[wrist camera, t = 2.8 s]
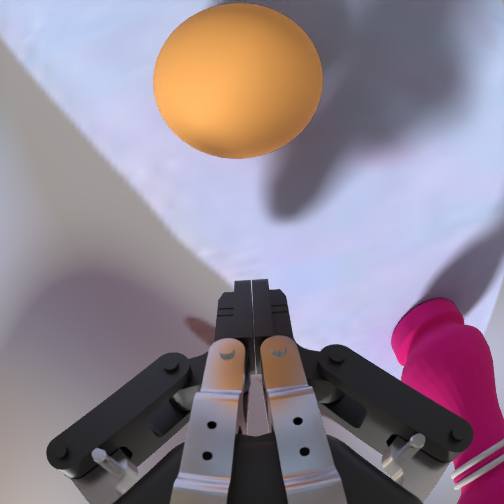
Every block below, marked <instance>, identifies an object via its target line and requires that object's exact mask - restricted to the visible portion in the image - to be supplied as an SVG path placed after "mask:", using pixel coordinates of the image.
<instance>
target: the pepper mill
mask: <svg viewBox="0 0 504 504" xmlns="http://www.w3.org/2000/svg"><path fill="white" fill-rule="evenodd" d="M391 345H392V348H393V351H394V353H395V355H396V357H397V360H398V362H399V363H400V364H401V365H402V366H404V368H403V372H402V377H401V381H402V382H403V383H405V384H407V385H408V386H410V387H411V388H413V389H415V390H416V391H418V392H420V393H421V394H423V395H425V396H426V397H428V398H430V399H431V400H433V401H435V402H436V403H438V404H440V405H441V406H443V407H445V408H446V409H448V410H450V411H451V412H453V413H455V414H456V415H458V416H460V417H461V418H463V419H465V420H466V421H468V422H469V423H470V425H471V426H472V428H473V432H474V437H473V441H472V443H471V445H470V446H469V447H468V448H467V449H466V450H465V451H464V452H463V453H461V454H460V455H459V456H458V457H457V458H455V459H454V460H453V462H454V466H455V471H454V472H453V473H452V474H451V478H452V479H454V483H456V484H455V486H454V489H456V490H458V489H460V488H461V496H460V499H459V501H458V503H457V504H504V418H503V416H502V413H501V410H500V407H499V404H498V399H497V394H496V387H495V378H494V367H493V360H492V356H491V352H490V348H489V346H488V344H487V342H486V340H485V338H484V336H483V334H482V333H481V332H480V331H479V330H478V329H477V328H475V327H473V326H469V325H464V318H463V316H462V315H461V313H460V312H459V310H458V309H457V308H456V306H455V305H454V304H453V303H452V302H451V301H450V300H448V299H442V298H440V299H433V300H430V301H427V302H424V303H422V304H421V305H419V306H417V307H415V308H414V309H413V310H411V311H410V312H409V313H408V314H407V315H406V316H405V317H404V318H403V319H402V320H401V321H400V322H399V323H398V325H397V327H396V328H395V330H394V332H393V335H392V339H391Z"/></svg>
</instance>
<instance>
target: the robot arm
mask: <svg viewBox="0 0 504 504" xmlns="http://www.w3.org/2000/svg"><path fill="white" fill-rule="evenodd" d="M252 293H253V305H252ZM253 318H254V324H253ZM254 340H255V350H254ZM255 353H256V366H257V374H262V387H263V396H264V402H265V409H266V415H267V422H268V429H269V433H268V434H265V435H261V436H258V437H254V436H248V435H247V423H248V410H249V395H250V384H251V381H250V380H251V377H250V374H255ZM319 409H320V410H321V411H323V412H324V413H325V414H327V415H328V416H329V417H330V418H332V419H333V420H334V421H336V422H337V423H338V424H340V425H341V426H343V427H344V428H345V429H347V430H348V431H349V432H351V433H352V434H353V435H355V436H356V437H358V438H359V439H360V440H362V441H363V442H365V443H366V444H368V445H369V446H370V447H372V448H374V449H375V450H376V451H378V452H379V453H381V454H382V455H383V456H382V461H381V462H382V467H383V469H384V470H385V471H386V472H387V473H388V474H389V475H390V477H391V478H392V479H391V478H389V477H388V476H386V475H385V474H384V473H383V472H381V471H380V470H378V469H377V468H376V467H375V466H373V465H372V464H371V463H369V462H368V461H367V460H365V459H364V458H363V457H361V456H360V455H359V454H357V453H356V452H355V451H354V450H352V449H351V448H350V447H349V446H347V445H346V444H345V443H343V442H342V441H340V440H338V439H337V438H335V437H332V436H330V435H327V434H326V433H325V429H324V425H323V422H322V418H321V414H320V411H319ZM188 422H189V425H188V429H187V435H186V440H185V442H183V443H182V444H180V445H178V446H176V447H175V448H174V449H172V450H171V451H170V452H169V453H168V454H167V455H166V456H165V457H164V458H163V459H162V460H160V461H159V462H158V463H157V464H156V465H155V466H154V467H153V468H152V469H151V470H150V471H149V472H148V473H147V474H145V475H144V476H143V477H142V478H141V479H140V480H139V481H138V482H137V483H135V482H136V481H137V478H138V469H137V467H138V466H139V465H140V464H141V463H142V462H143V461H145V460H146V459H147V458H148V457H149V456H150V455H152V454H153V453H154V452H155V451H156V450H157V449H159V448H160V447H161V446H162V445H163V444H164V443H165V442H167V441H168V440H169V439H170V438H171V437H172V436H173V435H174V434H176V433H177V432H178V431H179V430H180V429H181V428H182V427H183V426H184V425H185V424H186V423H188ZM473 437H474V432H473V428H472V426H471V425H470V423H469V422H468V421H466V420H465V419H463V418H461V417H460V416H458V415H456V414H455V413H453V412H451V411H450V410H448V409H446V408H445V407H443V406H441V405H440V404H438V403H436V402H435V401H433V400H431V399H430V398H428V397H426V396H425V395H423V394H421V393H420V392H418V391H416V390H415V389H413V388H411V387H410V386H408V385H407V384H405V383H403V382H402V381H400V380H398V379H397V378H395V377H394V376H392V375H390V374H389V373H387V372H386V371H384V370H382V369H381V368H379V367H378V366H376V365H374V364H373V363H371V362H370V361H368V360H367V359H365V358H363V357H362V356H360V355H359V354H357V353H356V352H354V351H352V350H351V349H349V348H348V347H346V346H343V345H338V344H333V345H329V346H326V347H325V348H323V349H322V350H321V351H320V352H319V351H313V350H308V349H305V348H303V347H301V346H299V345H298V344H297V343H296V342H295V340H294V338H293V333H292V327H291V321H290V316H289V310H288V305H287V299H286V296H285V294H284V293H283V292H282V291H281V290H280V289H276V290H269V285H268V279H259V280H252V292H251V280H243V281H235V285H234V292H225V293H223V294H222V296H221V297H220V299H219V300H218V310H217V319H216V330H215V340H214V343H213V344H212V345H211V347H210V348H209V351H208V352H207V353H205V354H203V355H201V356H198V357H194V358H191V359H187V357H186V356H184V355H183V354H180V353H167V354H164V355H163V356H161V357H159V358H158V359H157V360H156V361H154V362H153V363H152V364H151V365H149V366H148V367H147V368H146V369H144V370H143V371H142V372H141V373H139V374H138V375H137V376H136V377H134V378H133V379H132V380H130V381H129V382H128V383H126V384H125V385H124V386H123V387H121V388H120V389H119V390H118V391H116V392H115V393H114V394H112V395H111V396H110V397H108V398H107V399H106V400H104V401H103V402H102V403H101V404H99V405H98V406H97V407H95V408H94V409H93V410H91V411H90V412H89V413H87V414H86V415H85V416H83V417H82V418H81V419H80V420H78V421H77V422H76V423H74V424H73V425H72V426H70V427H69V428H68V429H66V430H65V431H64V432H62V433H61V434H60V435H58V436H57V437H55V438H54V439H53V440H52V441H51V442H50V443H49V445H48V447H47V451H46V454H47V459H48V461H49V463H50V464H51V465H52V466H53V467H54V468H56V469H57V470H59V471H60V472H62V473H63V474H64V475H65V476H66V477H68V478H69V479H71V480H72V481H73V482H74V484H75V485H76V487H77V488H78V489H79V491H80V492H81V493H82V494H83V496H84V497H85V498H86V500H87V501H88V502H89V503H90V504H423V502H424V501H425V499H426V498H427V497H428V495H429V494H430V492H431V491H432V490H433V488H434V486H435V485H436V484H437V482H438V481H439V479H440V478H441V476H442V474H443V473H444V471H445V470H446V468H447V466H448V465H449V463H450V462H451V461H453V460H454V459H455V458H457V457H458V456H459V455H460V454H461V453H463V452H464V451H465V450H466V449H467V448H468V447H469V446H470V445H471V443H472V441H473ZM134 483H135V484H134Z"/></svg>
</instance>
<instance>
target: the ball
mask: <svg viewBox="0 0 504 504" xmlns="http://www.w3.org/2000/svg"><path fill="white" fill-rule="evenodd" d="M153 86H154V94H155V100H156V103H157V106H158V109H159V111H160V113H161V115H162V117H163V119H164V120H165V122H166V123H167V125H168V126H169V128H170V129H171V130H172V131H173V132H174V133H175V134H176V135H177V136H178V137H179V138H180V139H181V140H183V141H184V142H185V143H187V144H188V145H190V146H191V147H193V148H195V149H197V150H199V151H201V152H204V153H207V154H210V155H213V156H217V157H222V158H231V159H243V158H251V157H256V156H261V155H264V154H267V153H270V152H272V151H275V150H277V149H279V148H281V147H283V146H284V145H286V144H287V143H289V142H290V141H292V140H293V139H294V138H295V137H296V136H298V135H299V134H300V133H301V132H302V131H303V129H304V128H305V127H306V126H307V125H308V123H309V122H310V120H311V119H312V117H313V116H314V114H315V112H316V110H317V108H318V105H319V102H320V99H321V94H322V88H323V72H322V65H321V61H320V58H319V55H318V53H317V50H316V48H315V46H314V44H313V43H312V41H311V39H310V38H309V37H308V35H307V34H306V33H305V31H304V30H303V29H302V28H301V27H300V26H299V25H297V24H296V23H295V22H294V21H293V20H291V19H290V18H288V17H287V16H285V15H283V14H282V13H280V12H278V11H276V10H273V9H270V8H268V7H265V6H260V5H256V4H249V3H230V4H223V5H218V6H214V7H211V8H208V9H206V10H203V11H201V12H199V13H197V14H195V15H193V16H191V17H190V18H188V19H187V20H186V21H184V22H183V23H182V24H181V25H179V26H178V27H177V28H176V29H175V30H174V31H173V32H172V34H171V35H170V36H169V38H168V39H167V40H166V42H165V43H164V45H163V47H162V49H161V51H160V53H159V55H158V58H157V61H156V65H155V69H154V77H153Z"/></svg>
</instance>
